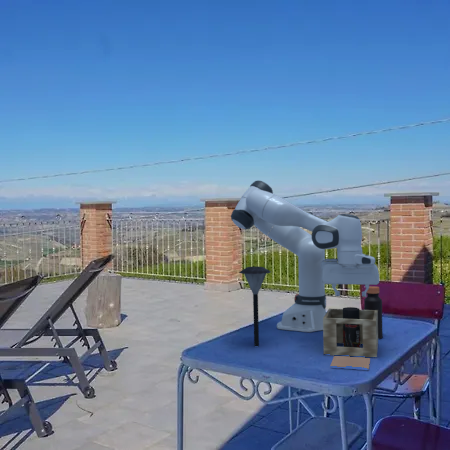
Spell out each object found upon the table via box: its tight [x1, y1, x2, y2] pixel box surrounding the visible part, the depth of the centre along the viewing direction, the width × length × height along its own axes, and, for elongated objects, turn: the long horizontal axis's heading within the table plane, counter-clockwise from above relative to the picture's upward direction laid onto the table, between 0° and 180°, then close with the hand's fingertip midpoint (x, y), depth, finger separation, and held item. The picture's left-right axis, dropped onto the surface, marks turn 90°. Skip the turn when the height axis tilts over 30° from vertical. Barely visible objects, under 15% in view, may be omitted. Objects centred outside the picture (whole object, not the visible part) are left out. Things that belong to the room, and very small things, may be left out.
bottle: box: [363, 285, 384, 340], centre depth 206 cm, size 7×7×20 cm
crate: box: [322, 308, 379, 358], centre depth 189 cm, size 18×18×13 cm
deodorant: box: [342, 306, 361, 348], centre depth 189 cm, size 6×6×15 cm
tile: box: [329, 355, 371, 370], centre depth 172 cm, size 12×12×1 cm
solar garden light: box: [238, 266, 272, 347], centre depth 197 cm, size 12×12×30 cm
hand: (350, 296), depth 188 cm, fingers open, 8 cm apart
